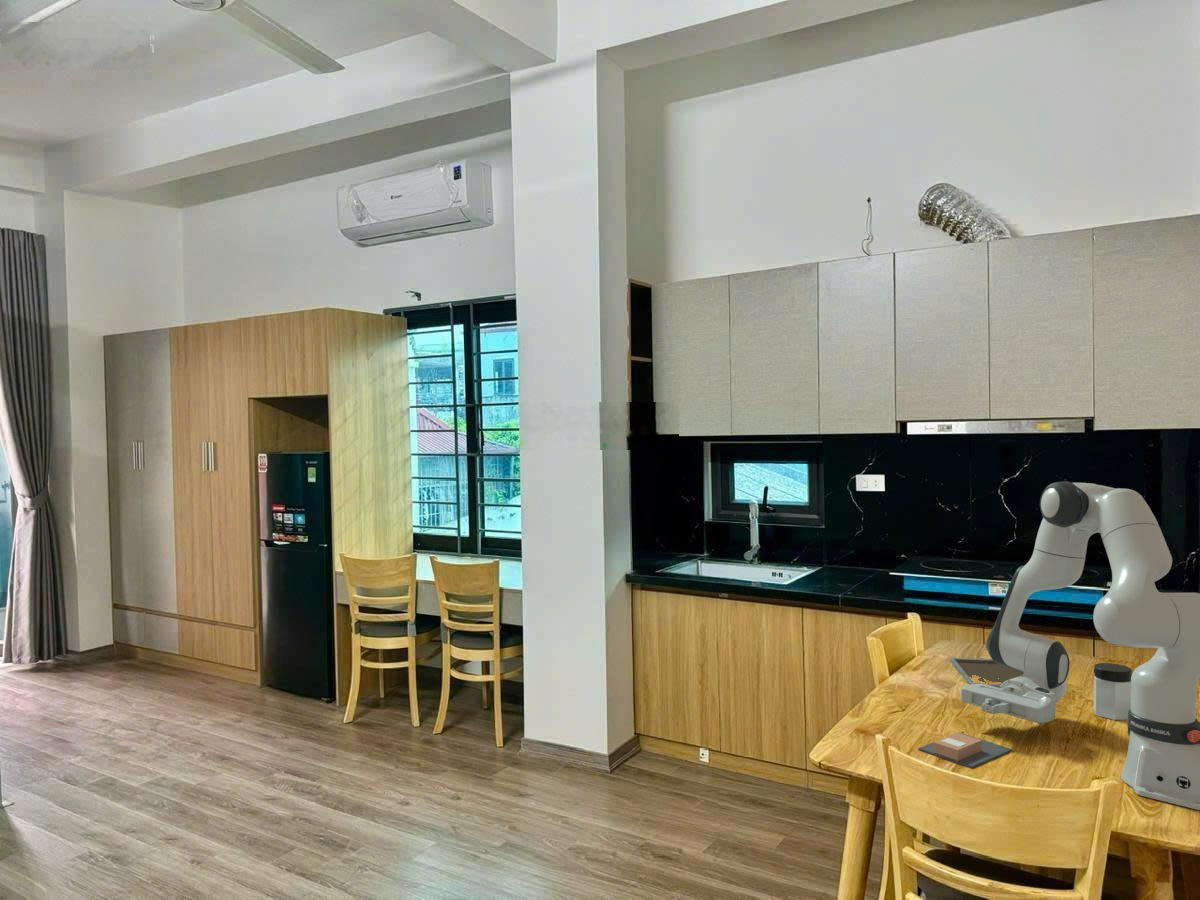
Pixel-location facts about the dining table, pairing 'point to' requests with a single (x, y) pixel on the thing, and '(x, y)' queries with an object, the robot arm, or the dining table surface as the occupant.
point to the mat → (976, 759)
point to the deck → (957, 746)
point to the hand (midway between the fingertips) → (987, 709)
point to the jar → (1112, 690)
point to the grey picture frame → (984, 670)
